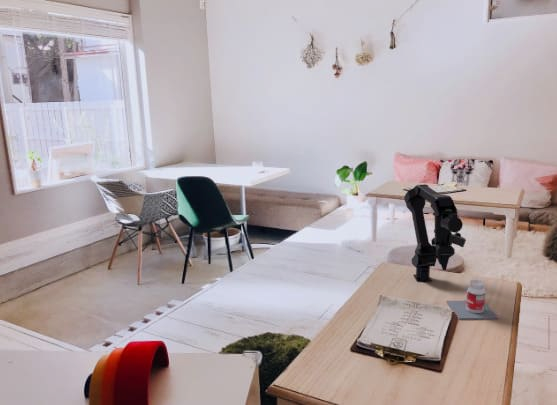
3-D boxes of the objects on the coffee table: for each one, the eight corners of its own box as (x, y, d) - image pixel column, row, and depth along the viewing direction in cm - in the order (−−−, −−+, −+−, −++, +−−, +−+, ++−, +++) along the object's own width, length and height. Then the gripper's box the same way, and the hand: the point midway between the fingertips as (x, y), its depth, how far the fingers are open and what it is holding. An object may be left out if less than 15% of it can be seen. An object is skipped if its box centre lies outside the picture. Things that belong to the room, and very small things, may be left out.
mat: (446, 302, 184) (446, 300, 184) (482, 301, 184) (483, 300, 183) (458, 319, 170) (459, 318, 170) (498, 319, 170) (498, 317, 170)
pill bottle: (463, 306, 179) (465, 279, 176) (479, 305, 179) (481, 278, 176) (470, 314, 173) (472, 286, 170) (486, 313, 173) (489, 285, 170)
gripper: (468, 232, 175) (469, 273, 177) (459, 223, 193) (459, 261, 195) (437, 232, 177) (437, 273, 179) (431, 224, 195) (431, 261, 197)
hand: (442, 267), depth 187 cm, fingers open, 9 cm apart
